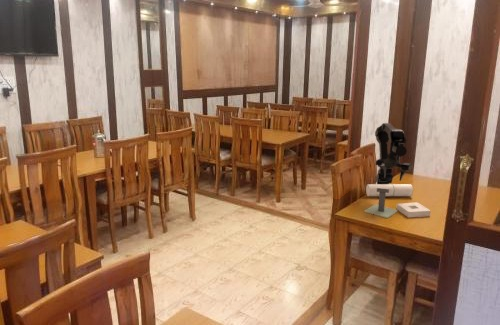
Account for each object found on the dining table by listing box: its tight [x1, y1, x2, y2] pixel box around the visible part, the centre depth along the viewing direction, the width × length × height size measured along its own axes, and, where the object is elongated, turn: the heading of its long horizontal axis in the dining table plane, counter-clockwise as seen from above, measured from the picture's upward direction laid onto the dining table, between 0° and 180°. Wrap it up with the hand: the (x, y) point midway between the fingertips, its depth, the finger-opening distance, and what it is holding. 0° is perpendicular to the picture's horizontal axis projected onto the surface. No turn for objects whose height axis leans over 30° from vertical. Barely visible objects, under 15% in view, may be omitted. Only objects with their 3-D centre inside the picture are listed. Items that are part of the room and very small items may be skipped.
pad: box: [363, 204, 399, 219], centre depth 206 cm, size 13×13×1 cm
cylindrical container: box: [365, 183, 414, 197], centre depth 229 cm, size 7×7×25 cm
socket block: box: [395, 202, 431, 219], centre depth 204 cm, size 12×12×3 cm
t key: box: [377, 188, 389, 212], centre depth 204 cm, size 3×6×12 cm, turn 71°
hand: (392, 179), depth 218 cm, fingers open, 9 cm apart
